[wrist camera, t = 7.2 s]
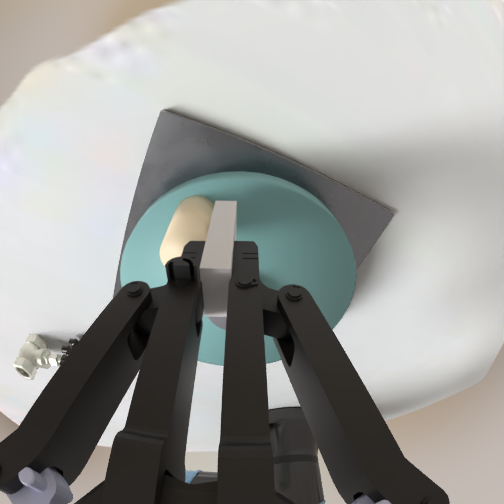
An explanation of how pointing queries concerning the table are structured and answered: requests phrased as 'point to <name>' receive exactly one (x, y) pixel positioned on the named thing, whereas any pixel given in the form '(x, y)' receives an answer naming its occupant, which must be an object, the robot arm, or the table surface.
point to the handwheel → (248, 229)
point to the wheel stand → (249, 160)
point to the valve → (39, 356)
